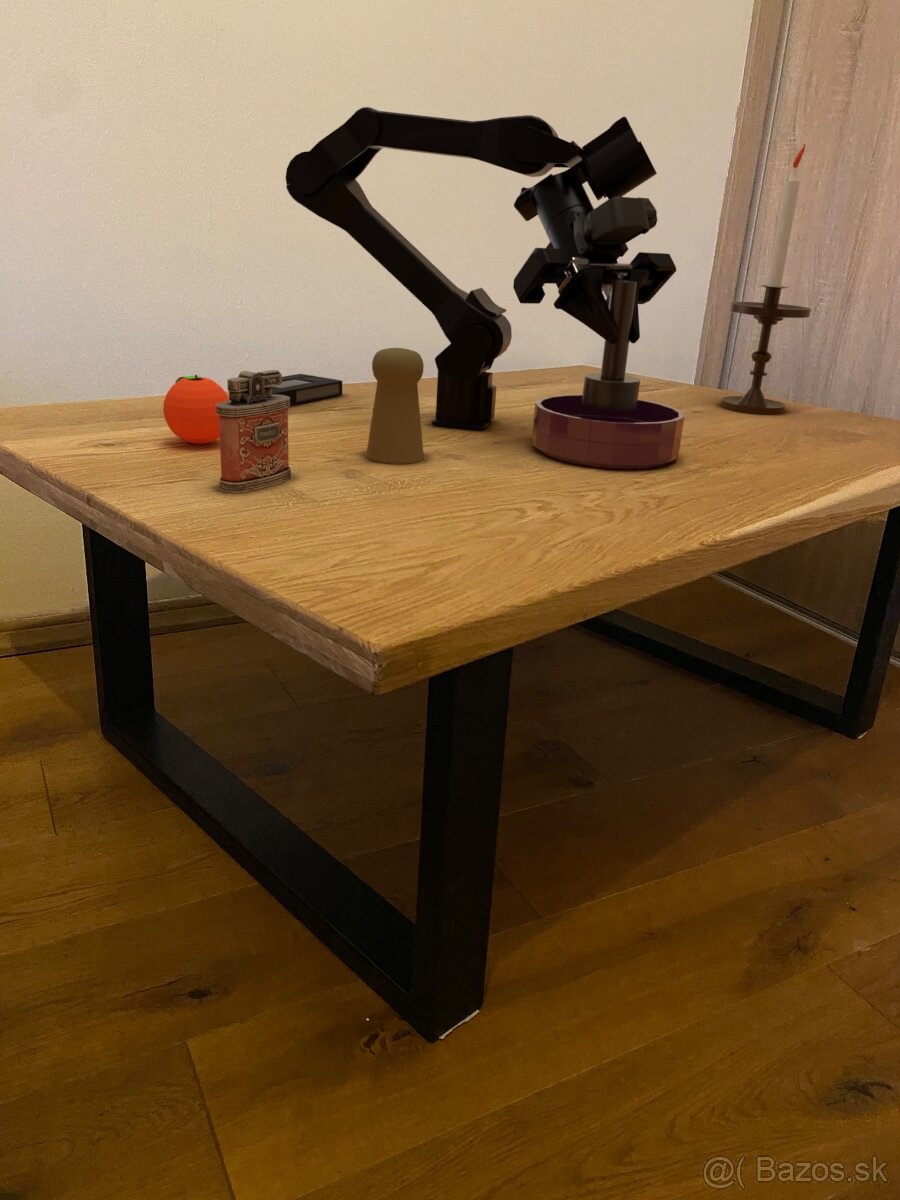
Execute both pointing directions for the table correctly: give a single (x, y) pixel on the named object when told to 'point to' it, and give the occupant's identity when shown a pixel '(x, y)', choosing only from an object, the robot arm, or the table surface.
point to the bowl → (607, 433)
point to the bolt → (615, 358)
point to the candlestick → (770, 307)
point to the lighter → (253, 433)
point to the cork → (396, 408)
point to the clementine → (194, 409)
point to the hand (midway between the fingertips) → (625, 341)
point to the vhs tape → (307, 388)
